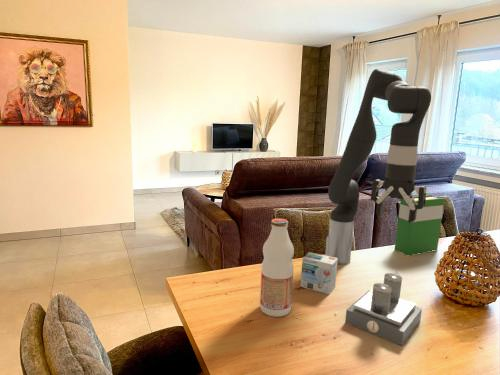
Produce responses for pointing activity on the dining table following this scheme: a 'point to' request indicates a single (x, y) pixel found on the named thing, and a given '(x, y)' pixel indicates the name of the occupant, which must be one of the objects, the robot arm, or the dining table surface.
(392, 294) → the cylinder
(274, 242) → the fruit juice
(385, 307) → the cylinder
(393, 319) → the platform
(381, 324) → the scale
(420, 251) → the green cereal box
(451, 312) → the dining table surface
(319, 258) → the light bulb box
